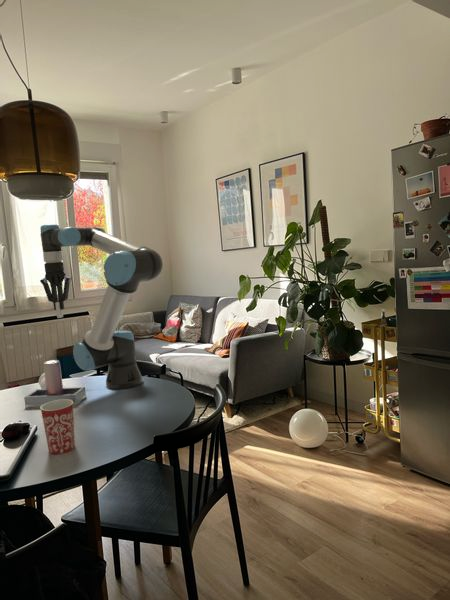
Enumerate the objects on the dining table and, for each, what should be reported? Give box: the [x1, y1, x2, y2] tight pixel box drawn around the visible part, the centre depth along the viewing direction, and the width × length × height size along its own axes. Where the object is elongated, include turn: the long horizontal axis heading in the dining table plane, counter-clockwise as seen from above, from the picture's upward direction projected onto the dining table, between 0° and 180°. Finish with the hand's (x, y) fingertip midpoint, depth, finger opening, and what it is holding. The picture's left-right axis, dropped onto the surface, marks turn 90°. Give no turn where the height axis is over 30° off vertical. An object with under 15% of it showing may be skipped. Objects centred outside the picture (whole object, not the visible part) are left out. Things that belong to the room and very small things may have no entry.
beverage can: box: [43, 359, 64, 395], centre depth 175 cm, size 6×6×15 cm
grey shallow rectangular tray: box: [24, 386, 87, 409], centre depth 176 cm, size 20×10×4 cm, turn 85°
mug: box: [39, 399, 76, 455], centre depth 133 cm, size 13×9×14 cm
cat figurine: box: [38, 372, 46, 389], centre depth 192 cm, size 10×8×15 cm
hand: (60, 317), depth 193 cm, fingers closed
